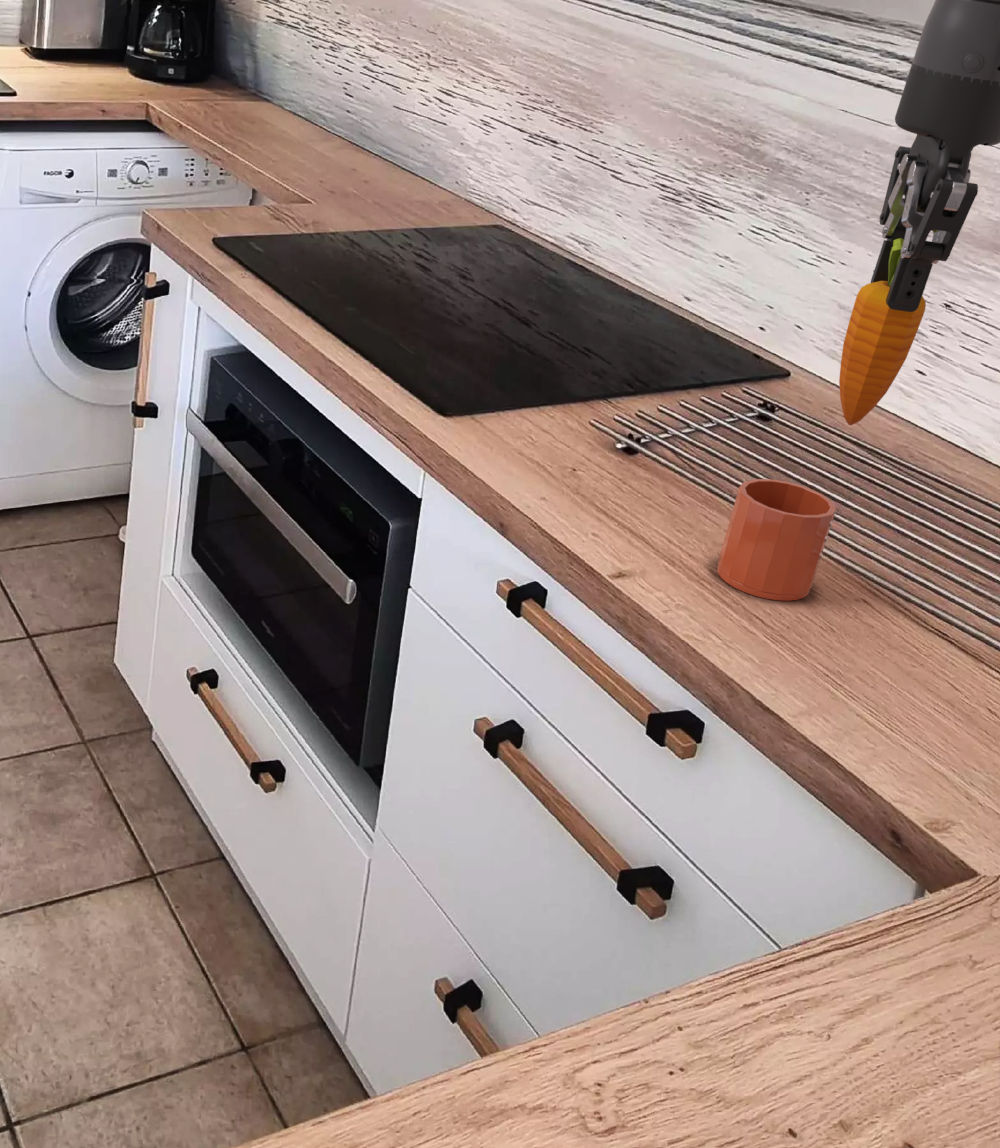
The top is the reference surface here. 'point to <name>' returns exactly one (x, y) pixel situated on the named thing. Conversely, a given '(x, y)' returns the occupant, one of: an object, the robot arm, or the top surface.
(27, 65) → the top surface
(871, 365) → the carrot
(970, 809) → the top surface
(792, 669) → the top surface
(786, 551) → the pot
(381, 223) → the top surface
